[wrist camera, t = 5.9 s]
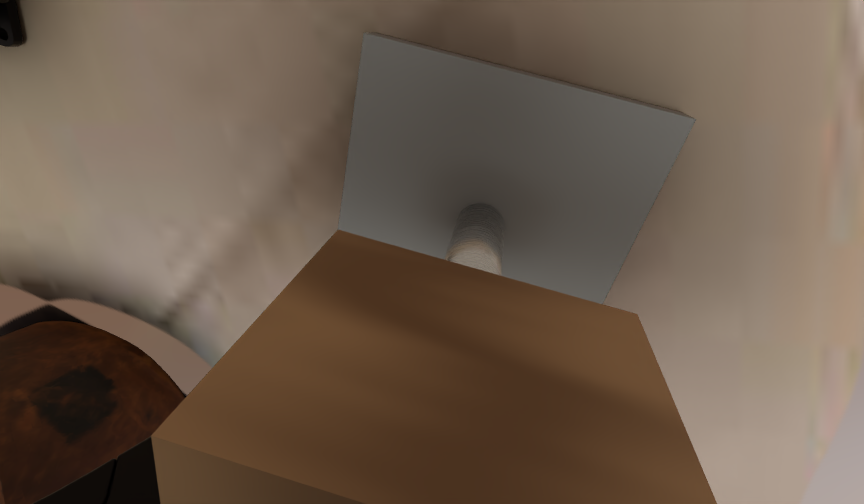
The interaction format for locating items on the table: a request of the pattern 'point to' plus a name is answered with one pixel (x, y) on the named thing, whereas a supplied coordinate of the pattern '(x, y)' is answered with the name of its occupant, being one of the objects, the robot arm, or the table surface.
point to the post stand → (502, 166)
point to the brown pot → (72, 405)
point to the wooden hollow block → (428, 396)
